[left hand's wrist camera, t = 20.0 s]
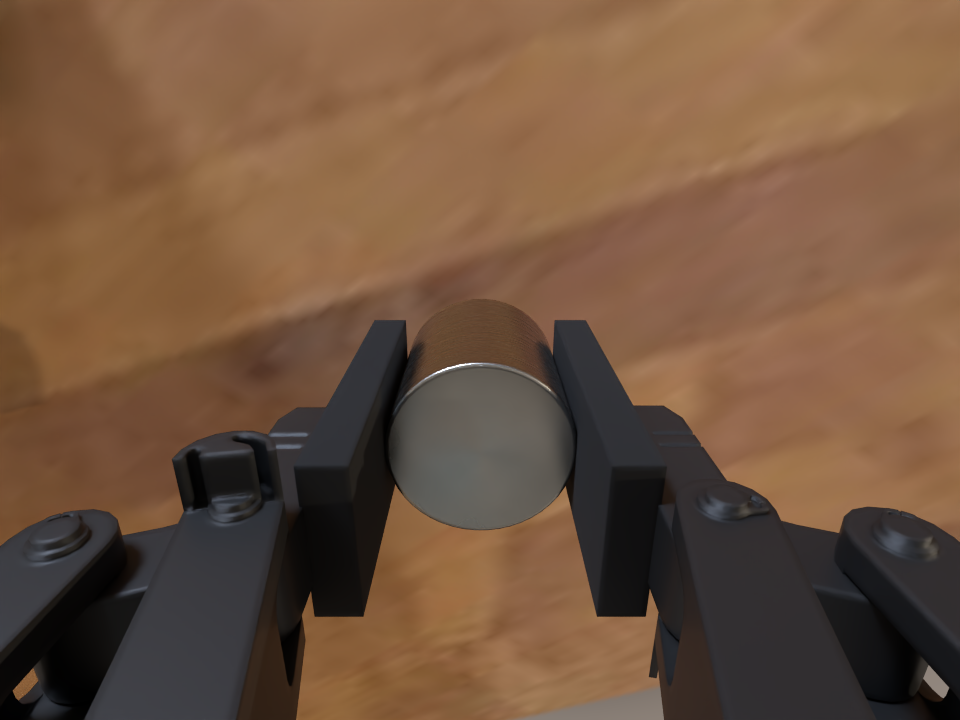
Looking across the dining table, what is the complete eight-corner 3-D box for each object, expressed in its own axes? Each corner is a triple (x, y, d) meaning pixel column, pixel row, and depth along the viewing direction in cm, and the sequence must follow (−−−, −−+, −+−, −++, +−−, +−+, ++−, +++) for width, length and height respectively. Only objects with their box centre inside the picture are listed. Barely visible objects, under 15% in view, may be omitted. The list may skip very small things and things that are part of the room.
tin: (410, 293, 14) (383, 357, 10) (559, 302, 14) (590, 369, 10) (408, 425, 15) (383, 527, 11) (544, 433, 15) (566, 536, 11)
